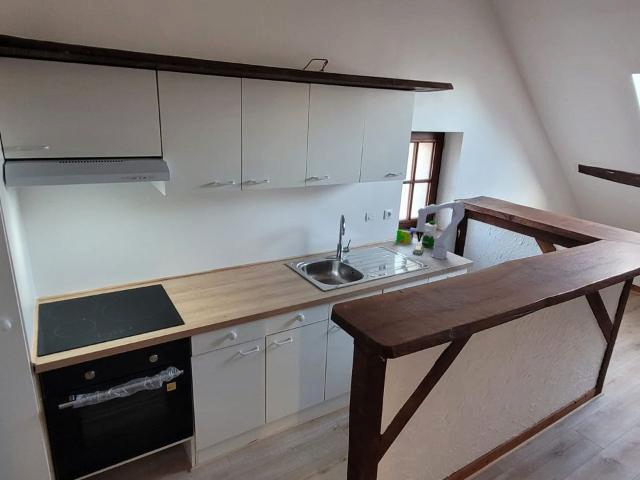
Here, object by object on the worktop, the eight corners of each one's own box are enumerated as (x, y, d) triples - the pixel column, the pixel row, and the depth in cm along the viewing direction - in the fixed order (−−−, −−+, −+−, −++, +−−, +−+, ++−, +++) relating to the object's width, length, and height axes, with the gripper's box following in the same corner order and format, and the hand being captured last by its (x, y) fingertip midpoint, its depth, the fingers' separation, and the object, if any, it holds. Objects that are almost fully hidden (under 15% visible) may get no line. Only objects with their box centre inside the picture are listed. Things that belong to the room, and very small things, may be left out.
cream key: (421, 249, 307) (421, 247, 307) (415, 249, 308) (415, 247, 308) (421, 248, 311) (421, 246, 310) (416, 247, 312) (416, 245, 311)
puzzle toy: (412, 241, 333) (413, 230, 330) (407, 244, 325) (409, 232, 322) (400, 239, 338) (401, 227, 335) (396, 242, 330) (397, 230, 327)
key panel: (421, 255, 301) (421, 252, 301) (412, 253, 303) (413, 251, 302) (423, 248, 317) (423, 246, 316) (415, 247, 318) (415, 244, 318)
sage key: (420, 251, 302) (420, 249, 302) (414, 250, 303) (415, 249, 303) (420, 250, 306) (421, 248, 305) (415, 249, 307) (415, 247, 307)
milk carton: (435, 246, 323) (438, 222, 317) (429, 249, 317) (432, 223, 311) (425, 244, 329) (429, 219, 323) (419, 246, 323) (422, 221, 317)
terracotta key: (421, 247, 312) (422, 246, 311) (416, 247, 313) (416, 245, 312) (422, 246, 315) (422, 244, 315) (417, 245, 317) (417, 243, 316)
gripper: (431, 223, 300) (429, 241, 304) (411, 221, 305) (409, 238, 308) (431, 226, 294) (428, 244, 298) (410, 223, 298) (408, 241, 302)
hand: (418, 241), depth 303 cm, fingers closed
